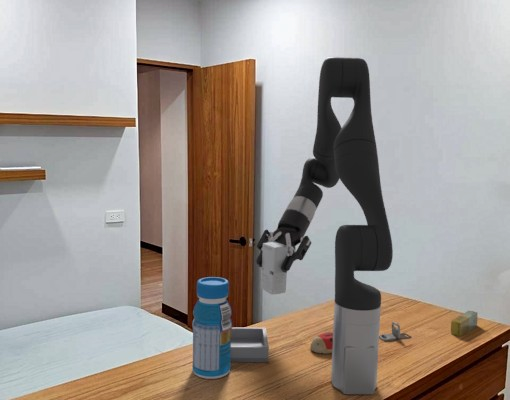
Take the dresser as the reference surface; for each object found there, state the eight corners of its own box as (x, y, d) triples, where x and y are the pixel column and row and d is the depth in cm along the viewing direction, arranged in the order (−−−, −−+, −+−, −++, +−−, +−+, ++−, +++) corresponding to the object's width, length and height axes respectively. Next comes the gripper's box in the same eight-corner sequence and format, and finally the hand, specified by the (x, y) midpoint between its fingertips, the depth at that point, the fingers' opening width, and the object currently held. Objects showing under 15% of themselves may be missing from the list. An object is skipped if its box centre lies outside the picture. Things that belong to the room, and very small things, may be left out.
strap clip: (384, 343, 124) (385, 326, 124) (377, 338, 127) (378, 322, 126) (412, 339, 127) (413, 323, 127) (404, 334, 130) (405, 319, 129)
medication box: (467, 323, 139) (468, 310, 139) (477, 326, 137) (478, 312, 137) (450, 334, 131) (451, 320, 130) (460, 337, 129) (461, 322, 128)
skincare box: (259, 288, 126) (260, 242, 125) (274, 286, 129) (275, 241, 127) (272, 295, 121) (273, 247, 120) (287, 293, 123) (288, 245, 122)
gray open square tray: (268, 362, 111) (268, 347, 110) (215, 361, 110) (215, 346, 110) (265, 341, 123) (265, 327, 122) (217, 340, 122) (217, 327, 122)
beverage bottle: (195, 382, 100) (196, 287, 98) (188, 364, 108) (189, 276, 106) (235, 378, 103) (237, 285, 100) (226, 360, 111) (227, 274, 109)
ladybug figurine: (304, 347, 120) (304, 333, 119) (335, 340, 125) (335, 327, 124) (321, 358, 114) (322, 343, 113) (353, 350, 119) (354, 336, 119)
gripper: (270, 205, 133) (242, 255, 125) (316, 210, 124) (289, 264, 116) (280, 222, 138) (254, 271, 130) (325, 229, 129) (300, 281, 121)
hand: (270, 267), depth 123 cm, fingers closed on skincare box, 7 cm apart
